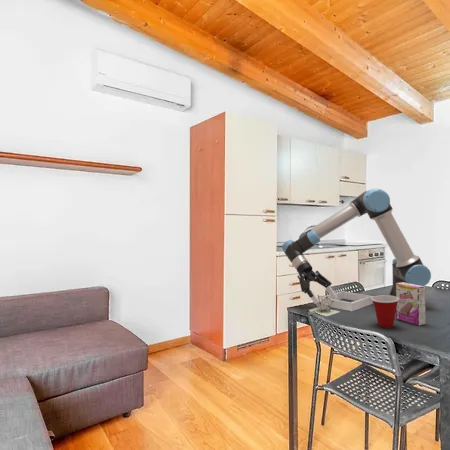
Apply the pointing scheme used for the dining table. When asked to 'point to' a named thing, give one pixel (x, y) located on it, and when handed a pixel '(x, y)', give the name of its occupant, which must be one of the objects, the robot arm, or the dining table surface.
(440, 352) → the dining table surface
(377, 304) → the plastic cup
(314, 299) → the robot arm
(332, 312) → the pad
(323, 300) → the wireframe polyhedron
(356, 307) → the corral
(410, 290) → the candy bar box
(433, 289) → the dining table surface
